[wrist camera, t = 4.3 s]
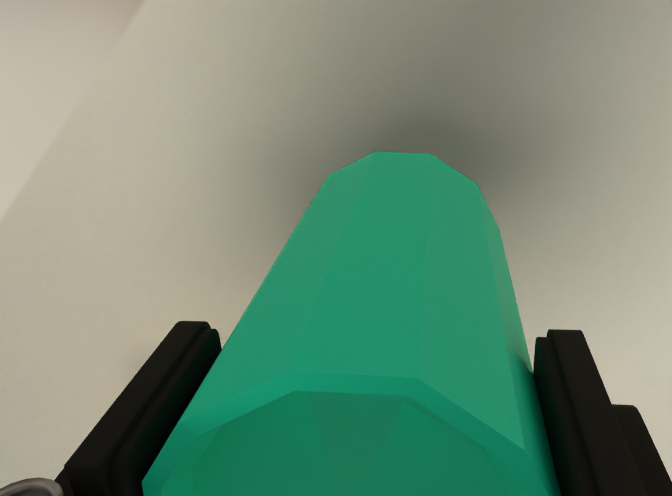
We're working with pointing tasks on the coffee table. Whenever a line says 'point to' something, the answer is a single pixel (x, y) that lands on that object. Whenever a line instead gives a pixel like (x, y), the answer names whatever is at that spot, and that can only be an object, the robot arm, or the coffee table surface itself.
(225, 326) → the coffee table surface
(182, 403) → the robot arm
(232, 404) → the candle
